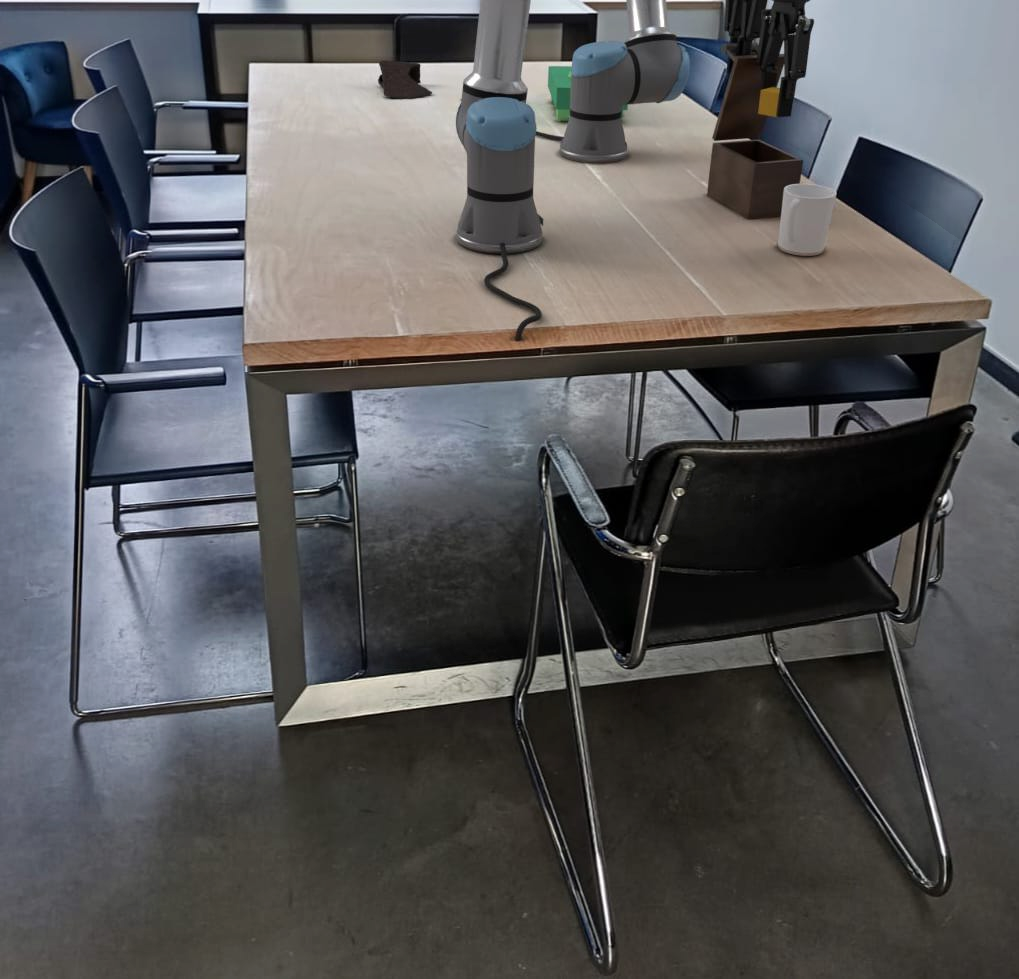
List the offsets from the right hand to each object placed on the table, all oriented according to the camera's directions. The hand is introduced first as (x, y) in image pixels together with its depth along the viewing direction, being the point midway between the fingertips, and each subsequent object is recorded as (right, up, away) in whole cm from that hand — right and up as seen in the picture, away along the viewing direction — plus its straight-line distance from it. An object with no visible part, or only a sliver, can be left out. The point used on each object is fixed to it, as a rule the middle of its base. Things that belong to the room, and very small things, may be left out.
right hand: (736, 73), depth 214 cm
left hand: (+5, -11, -10) cm, 16 cm away
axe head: (-74, +28, +86) cm, 117 cm away
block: (+5, -11, -10) cm, 16 cm away
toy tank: (-25, +18, +72) cm, 79 cm away
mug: (+7, -39, -20) cm, 44 cm away
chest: (+3, -25, +3) cm, 25 cm away
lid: (+2, -6, -3) cm, 7 cm away
